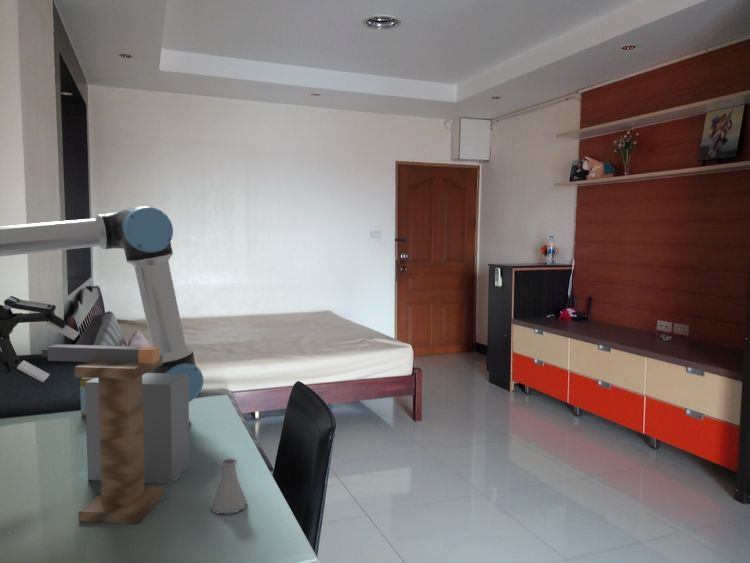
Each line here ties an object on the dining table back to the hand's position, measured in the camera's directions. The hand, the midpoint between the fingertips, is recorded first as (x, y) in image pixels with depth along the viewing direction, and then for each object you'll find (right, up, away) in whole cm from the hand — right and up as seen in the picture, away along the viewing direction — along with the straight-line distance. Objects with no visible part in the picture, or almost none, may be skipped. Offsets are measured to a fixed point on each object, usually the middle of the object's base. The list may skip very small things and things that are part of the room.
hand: (61, 357), depth 130 cm
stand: (+21, -29, -15) cm, 39 cm away
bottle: (-15, -24, +45) cm, 54 cm away
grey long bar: (+18, +2, -17) cm, 25 cm away
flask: (+43, -30, -14) cm, 54 cm away
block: (+17, -28, +3) cm, 33 cm away
